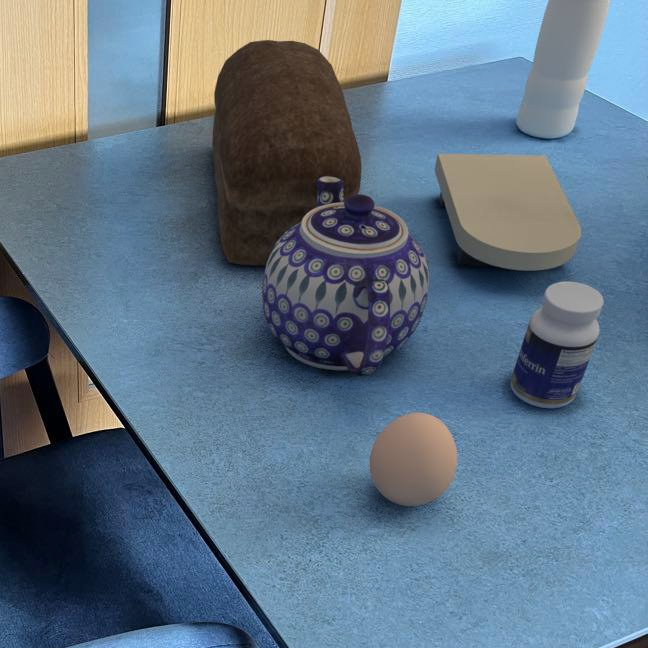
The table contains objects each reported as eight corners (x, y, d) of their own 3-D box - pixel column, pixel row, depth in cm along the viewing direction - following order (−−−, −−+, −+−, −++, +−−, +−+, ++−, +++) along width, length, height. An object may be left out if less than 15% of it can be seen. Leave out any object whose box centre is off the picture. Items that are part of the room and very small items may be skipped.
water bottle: (565, 144, 129) (633, -82, 112) (508, 133, 132) (565, -89, 114) (577, 123, 133) (644, -97, 116) (522, 113, 136) (579, -104, 118)
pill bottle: (497, 378, 95) (526, 282, 88) (553, 368, 96) (586, 273, 89) (529, 415, 91) (562, 318, 84) (587, 405, 92) (625, 308, 85)
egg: (355, 513, 82) (371, 436, 77) (370, 462, 87) (386, 386, 81) (440, 532, 81) (463, 455, 75) (451, 479, 85) (473, 402, 79)
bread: (322, 144, 131) (340, 10, 119) (356, 275, 108) (382, 125, 97) (207, 144, 131) (214, 11, 120) (217, 275, 109) (226, 126, 97)
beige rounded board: (428, 194, 120) (437, 153, 117) (534, 197, 120) (546, 155, 116) (458, 295, 105) (469, 251, 101) (579, 298, 104) (594, 254, 101)
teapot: (440, 421, 90) (480, 271, 80) (270, 422, 91) (287, 273, 80) (389, 273, 108) (417, 134, 98) (247, 274, 109) (259, 136, 98)
